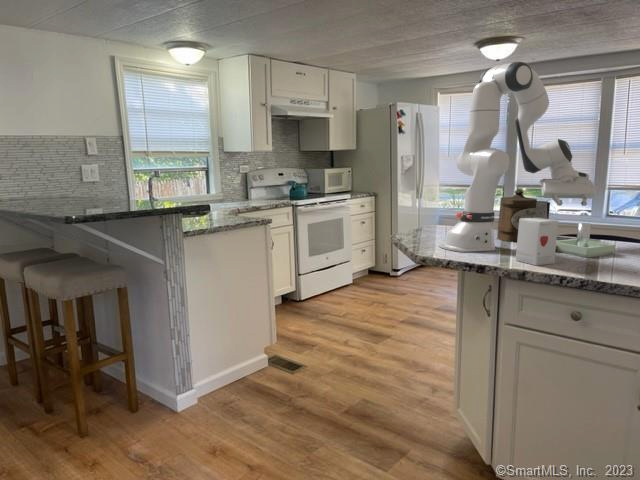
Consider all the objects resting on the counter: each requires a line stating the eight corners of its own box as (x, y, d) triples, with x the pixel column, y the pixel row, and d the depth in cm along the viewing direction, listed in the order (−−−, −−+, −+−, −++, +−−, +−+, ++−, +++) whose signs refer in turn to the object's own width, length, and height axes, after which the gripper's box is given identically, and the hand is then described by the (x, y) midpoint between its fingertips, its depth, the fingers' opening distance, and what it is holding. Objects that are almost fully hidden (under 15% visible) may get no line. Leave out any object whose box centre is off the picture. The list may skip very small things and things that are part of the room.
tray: (586, 257, 169) (587, 248, 168) (550, 250, 182) (550, 241, 182) (614, 254, 176) (615, 244, 175) (577, 247, 189) (578, 238, 188)
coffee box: (547, 238, 210) (550, 202, 207) (532, 237, 211) (535, 202, 208) (542, 235, 218) (545, 200, 215) (527, 234, 220) (530, 200, 217)
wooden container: (518, 243, 196) (522, 191, 192) (490, 238, 209) (493, 188, 205) (541, 240, 203) (545, 190, 199) (512, 235, 216) (516, 188, 212)
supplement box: (535, 266, 156) (539, 221, 153) (514, 260, 164) (518, 218, 161) (555, 263, 159) (559, 220, 157) (533, 258, 167) (537, 216, 165)
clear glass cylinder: (583, 250, 176) (585, 224, 174) (573, 249, 180) (575, 223, 178) (590, 250, 178) (593, 223, 176) (580, 248, 181) (583, 222, 180)
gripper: (541, 173, 194) (548, 199, 186) (592, 174, 192) (602, 200, 184) (536, 183, 199) (542, 209, 191) (586, 184, 197) (595, 210, 189)
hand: (572, 204), depth 187 cm, fingers open, 8 cm apart
